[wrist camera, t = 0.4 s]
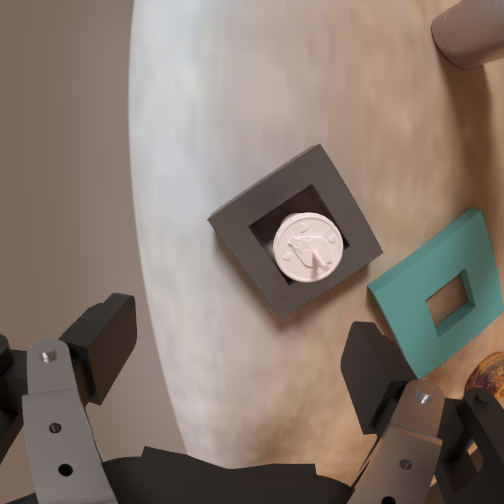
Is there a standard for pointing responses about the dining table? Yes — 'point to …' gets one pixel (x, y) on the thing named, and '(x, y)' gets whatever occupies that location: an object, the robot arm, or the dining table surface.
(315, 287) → the tall socket
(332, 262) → the smoothie
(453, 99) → the dining table surface
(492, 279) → the low socket
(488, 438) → the robot arm
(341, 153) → the dining table surface
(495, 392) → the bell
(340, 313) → the dining table surface
